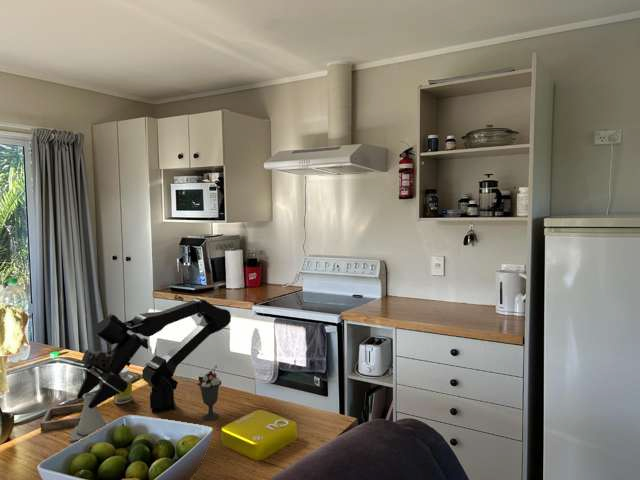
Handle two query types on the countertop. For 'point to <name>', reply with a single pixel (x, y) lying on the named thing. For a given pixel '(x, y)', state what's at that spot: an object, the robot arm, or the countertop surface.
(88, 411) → the flask
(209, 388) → the sundae
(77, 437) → the rubber mat
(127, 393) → the supplement bottle
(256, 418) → the element tile
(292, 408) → the countertop surface
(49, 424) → the walnut well
